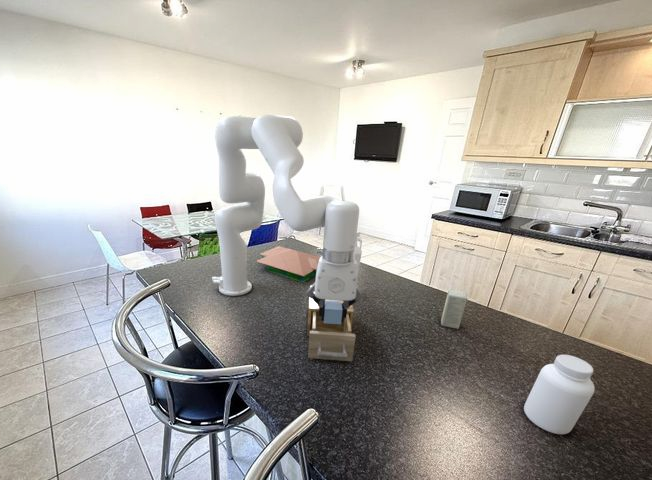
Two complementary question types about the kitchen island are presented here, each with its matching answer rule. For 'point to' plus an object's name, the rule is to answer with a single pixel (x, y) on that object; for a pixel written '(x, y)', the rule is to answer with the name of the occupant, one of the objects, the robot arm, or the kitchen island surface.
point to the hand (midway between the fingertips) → (332, 318)
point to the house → (290, 261)
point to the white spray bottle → (358, 251)
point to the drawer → (331, 340)
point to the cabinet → (315, 307)
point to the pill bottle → (560, 394)
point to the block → (333, 312)
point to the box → (454, 309)
